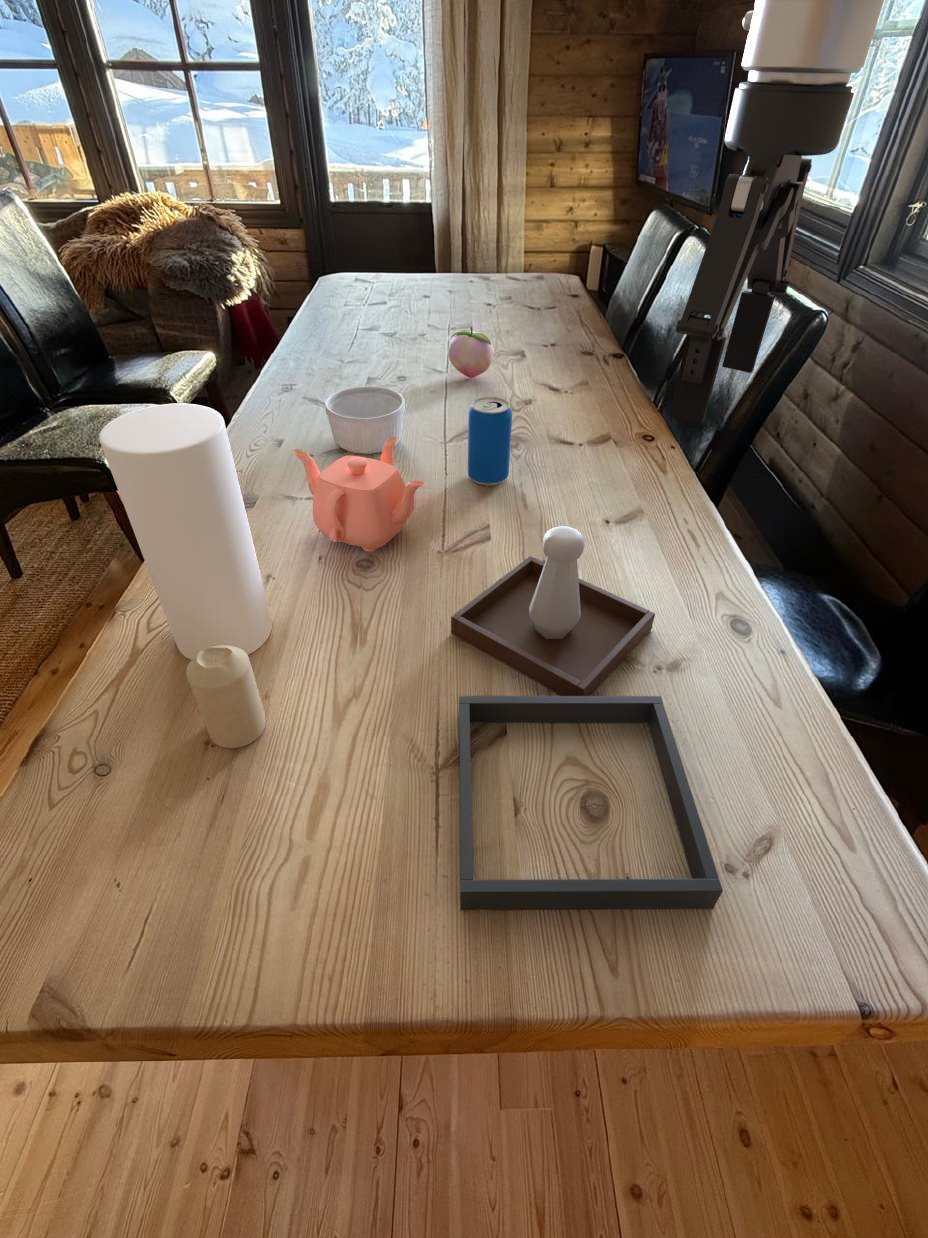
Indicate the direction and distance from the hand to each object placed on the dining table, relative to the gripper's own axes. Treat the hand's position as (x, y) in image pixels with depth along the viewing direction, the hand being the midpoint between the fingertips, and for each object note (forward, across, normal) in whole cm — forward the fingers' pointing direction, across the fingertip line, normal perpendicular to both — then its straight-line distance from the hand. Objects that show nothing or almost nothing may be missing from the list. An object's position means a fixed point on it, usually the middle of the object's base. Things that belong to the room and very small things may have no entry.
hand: (713, 392), depth 58 cm
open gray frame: (+29, +25, +3) cm, 38 cm away
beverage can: (+29, -20, -35) cm, 50 cm away
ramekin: (+29, -19, -59) cm, 69 cm away
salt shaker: (+28, +6, -10) cm, 30 cm away
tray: (+29, +6, -10) cm, 31 cm away
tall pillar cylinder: (+29, +28, -40) cm, 57 cm away
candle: (+29, +37, -28) cm, 55 cm away
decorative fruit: (+29, -54, -61) cm, 86 cm away
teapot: (+29, +2, -41) cm, 50 cm away
